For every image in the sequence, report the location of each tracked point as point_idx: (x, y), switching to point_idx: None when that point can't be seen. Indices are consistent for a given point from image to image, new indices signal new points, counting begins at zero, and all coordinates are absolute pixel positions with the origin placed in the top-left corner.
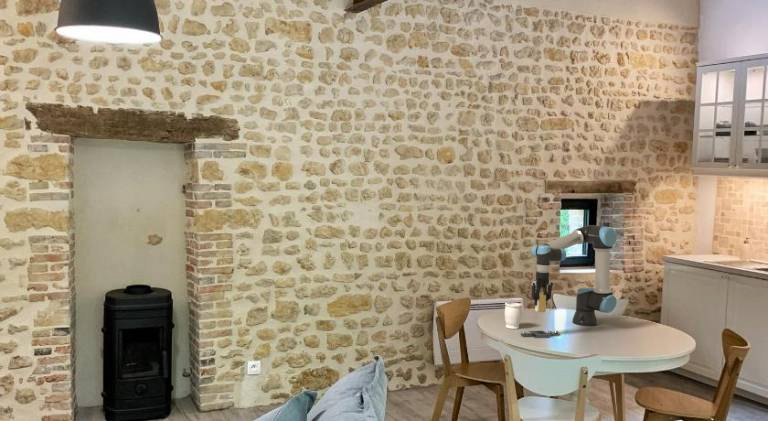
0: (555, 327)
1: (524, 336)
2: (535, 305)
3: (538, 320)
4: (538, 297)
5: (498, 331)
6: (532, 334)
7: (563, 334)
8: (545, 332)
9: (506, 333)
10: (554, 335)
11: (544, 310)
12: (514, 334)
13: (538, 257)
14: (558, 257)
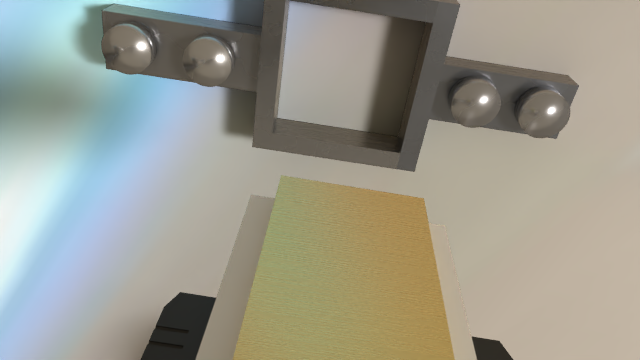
0: (9, 266)
1: (551, 75)
2: (500, 345)
3: None
4: None
5: (609, 299)
6: (458, 65)
7: (35, 46)
8: (271, 66)
9: (600, 233)
10: (175, 15)
11: (289, 197)
12: (557, 186)
13: None
14: None
